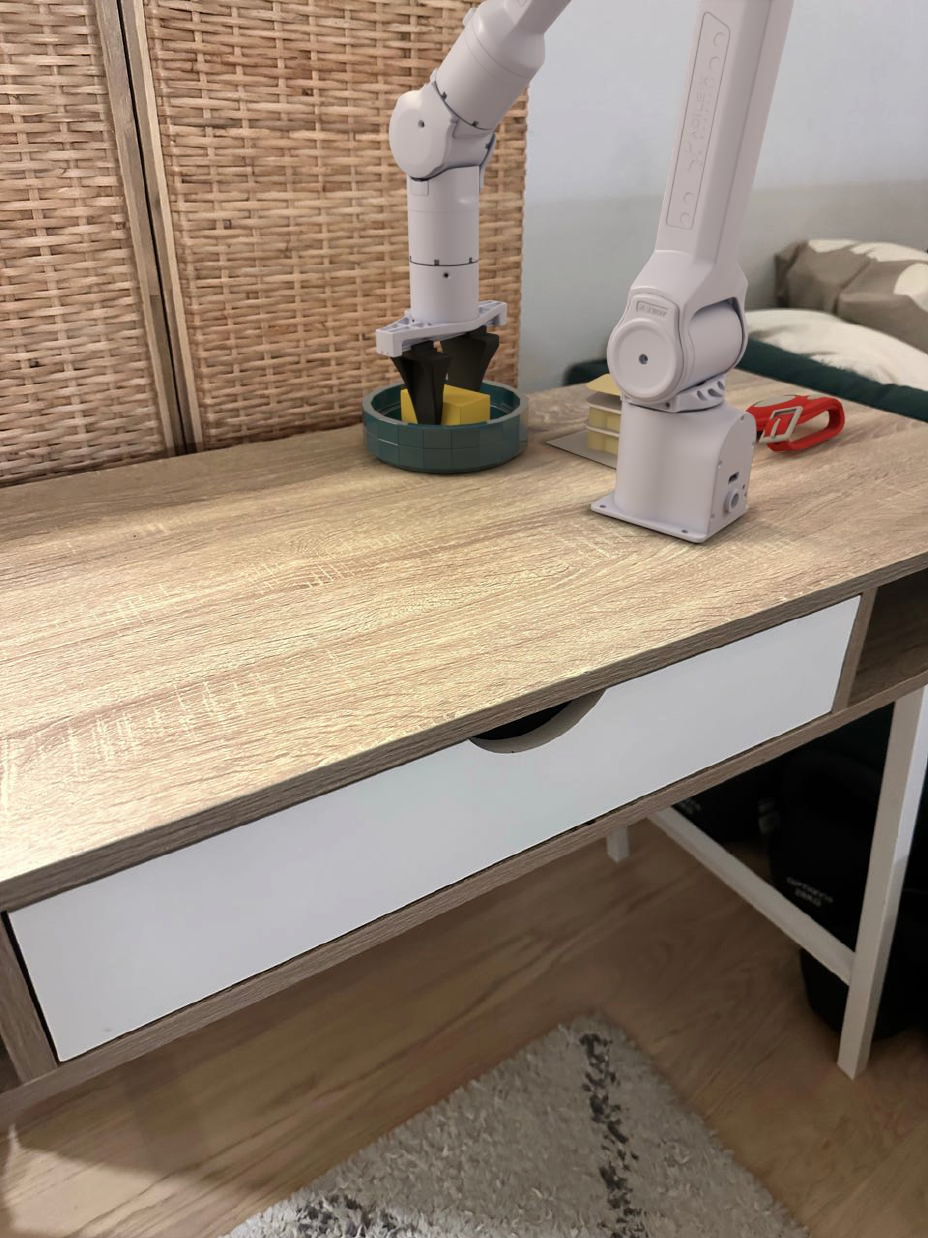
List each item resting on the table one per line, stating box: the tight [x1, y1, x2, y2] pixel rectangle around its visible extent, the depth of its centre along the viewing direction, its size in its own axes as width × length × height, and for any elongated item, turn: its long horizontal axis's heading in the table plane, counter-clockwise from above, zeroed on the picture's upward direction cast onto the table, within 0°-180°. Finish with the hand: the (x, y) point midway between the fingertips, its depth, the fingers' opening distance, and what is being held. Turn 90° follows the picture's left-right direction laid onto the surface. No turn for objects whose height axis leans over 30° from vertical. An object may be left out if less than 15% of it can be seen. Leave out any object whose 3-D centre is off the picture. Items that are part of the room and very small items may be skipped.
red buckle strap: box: [745, 393, 846, 453], centre depth 85 cm, size 12×4×10 cm
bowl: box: [361, 376, 530, 474], centre depth 84 cm, size 15×15×4 cm
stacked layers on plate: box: [544, 373, 622, 470], centre depth 83 cm, size 10×9×6 cm
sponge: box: [401, 384, 490, 425], centre depth 83 cm, size 7×4×4 cm, turn 49°
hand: (446, 421), depth 84 cm, fingers closed on sponge, 4 cm apart
